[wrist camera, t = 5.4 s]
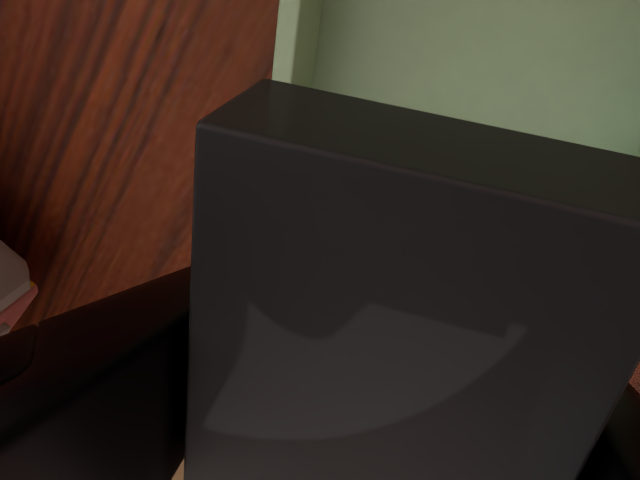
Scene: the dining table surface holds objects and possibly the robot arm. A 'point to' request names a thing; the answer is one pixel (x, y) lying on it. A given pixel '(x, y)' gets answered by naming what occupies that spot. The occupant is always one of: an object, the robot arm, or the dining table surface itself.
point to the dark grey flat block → (403, 294)
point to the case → (477, 61)
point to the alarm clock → (13, 288)
